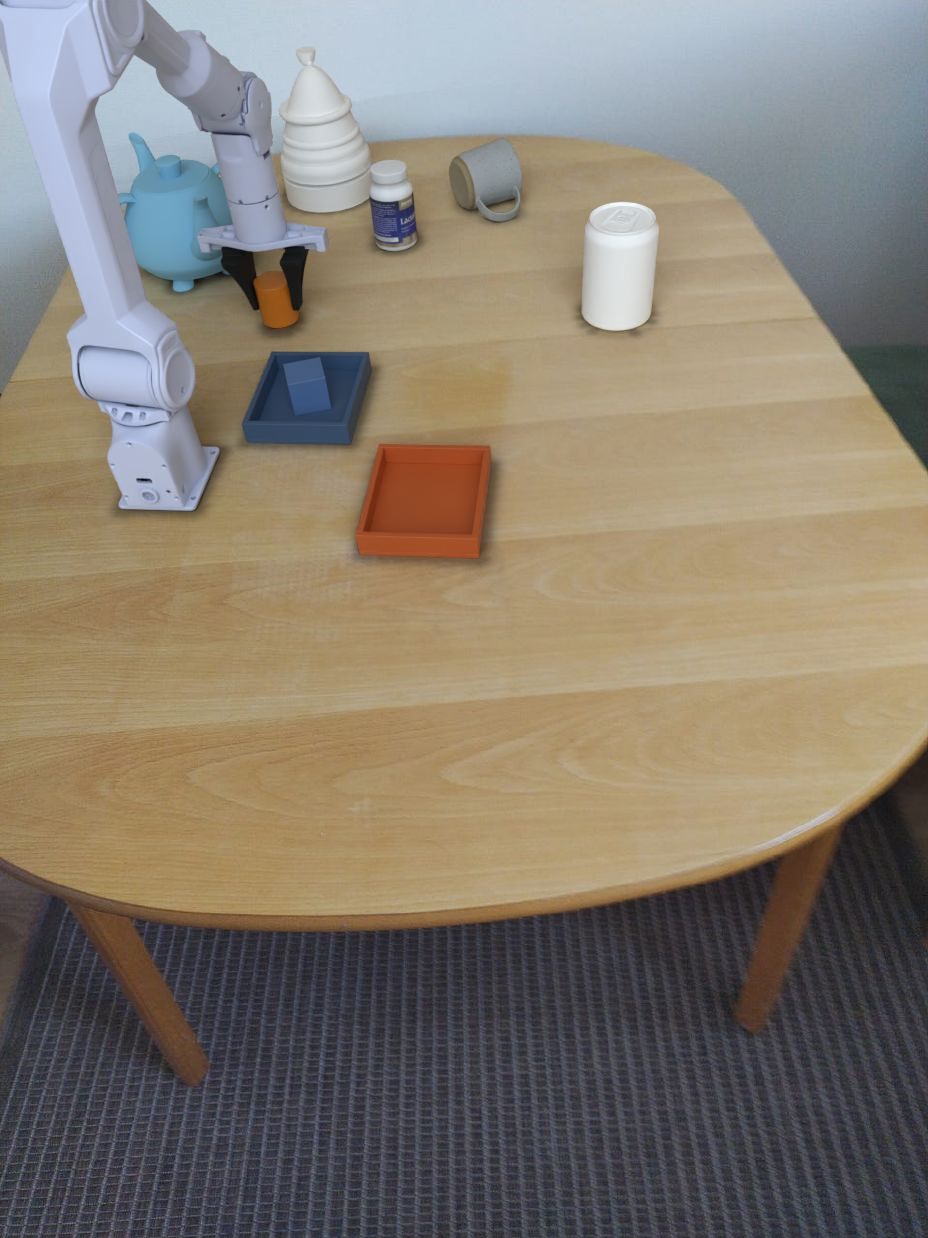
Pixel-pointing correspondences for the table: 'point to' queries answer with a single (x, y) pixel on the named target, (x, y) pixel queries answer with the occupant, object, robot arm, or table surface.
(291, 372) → the blue block
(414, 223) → the pill bottle
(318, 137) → the honey pot
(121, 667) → the table surface
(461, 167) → the ceramic mug
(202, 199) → the teapot
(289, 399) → the blue tray
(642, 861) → the table surface
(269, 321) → the amber cylinder
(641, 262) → the beverage can
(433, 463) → the orange tray
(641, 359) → the table surface
